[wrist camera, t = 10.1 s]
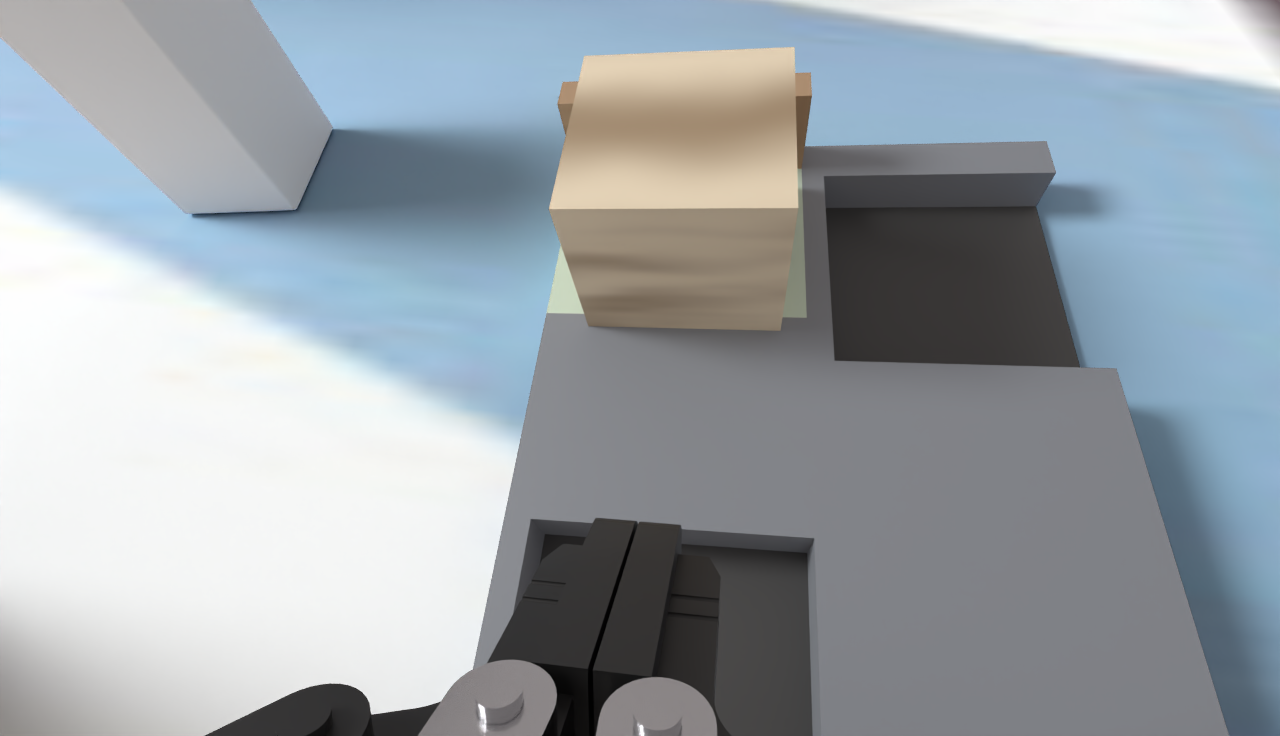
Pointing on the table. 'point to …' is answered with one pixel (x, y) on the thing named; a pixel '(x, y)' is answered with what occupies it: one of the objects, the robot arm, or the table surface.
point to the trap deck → (881, 471)
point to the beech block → (681, 188)
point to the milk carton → (181, 94)
